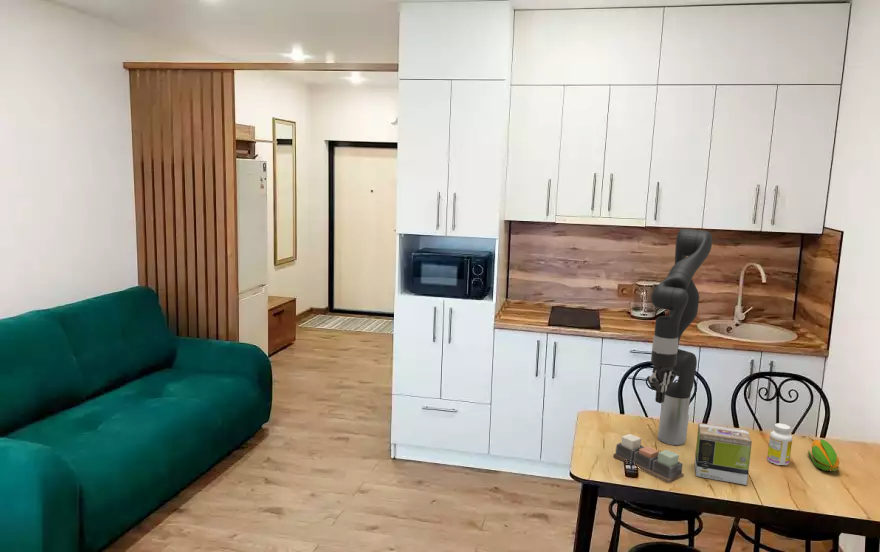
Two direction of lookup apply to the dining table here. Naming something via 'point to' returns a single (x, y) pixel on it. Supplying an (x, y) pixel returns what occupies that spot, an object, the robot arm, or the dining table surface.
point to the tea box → (723, 453)
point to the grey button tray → (649, 464)
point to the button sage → (668, 458)
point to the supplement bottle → (780, 445)
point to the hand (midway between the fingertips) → (659, 402)
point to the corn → (824, 455)
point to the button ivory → (631, 441)
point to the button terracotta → (648, 452)
